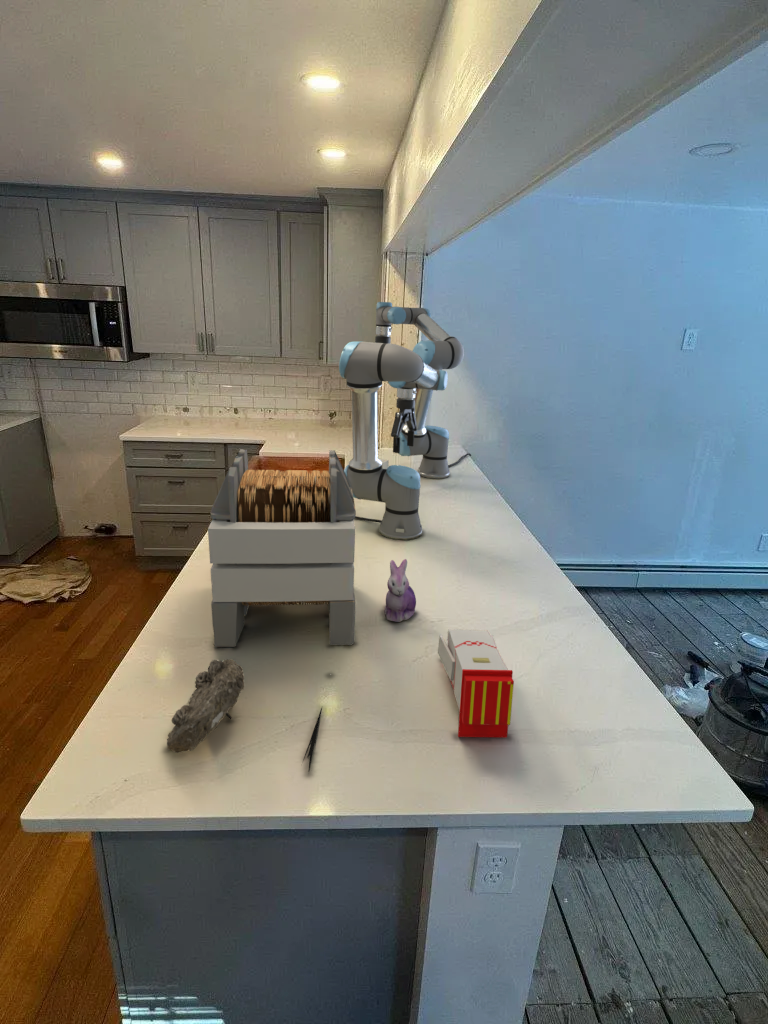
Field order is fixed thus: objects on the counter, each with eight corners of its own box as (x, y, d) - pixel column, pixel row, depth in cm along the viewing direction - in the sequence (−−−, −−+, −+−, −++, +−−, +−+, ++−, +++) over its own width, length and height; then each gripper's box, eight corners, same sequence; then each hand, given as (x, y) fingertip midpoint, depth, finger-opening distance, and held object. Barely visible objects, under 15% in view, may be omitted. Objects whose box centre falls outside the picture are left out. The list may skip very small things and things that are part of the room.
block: (363, 485, 253) (364, 459, 249) (369, 481, 258) (370, 457, 254) (381, 488, 249) (382, 462, 245) (387, 485, 254) (388, 460, 250)
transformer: (232, 581, 160) (225, 440, 147) (348, 580, 164) (351, 442, 150) (211, 649, 129) (199, 477, 115) (355, 646, 132) (360, 479, 119)
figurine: (392, 627, 141) (395, 572, 136) (374, 608, 149) (376, 556, 144) (425, 619, 145) (429, 566, 140) (405, 601, 154) (408, 550, 149)
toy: (488, 613, 130) (523, 677, 101) (484, 667, 133) (517, 744, 104) (435, 612, 130) (455, 676, 101) (432, 666, 133) (451, 743, 103)
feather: (331, 679, 122) (336, 673, 122) (307, 777, 96) (313, 769, 95) (324, 675, 122) (329, 669, 121) (298, 772, 95) (304, 764, 95)
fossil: (192, 660, 117) (244, 628, 112) (224, 691, 120) (276, 661, 115) (142, 746, 98) (202, 712, 93) (182, 779, 101) (242, 748, 96)
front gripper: (400, 403, 218) (398, 457, 226) (426, 395, 239) (423, 444, 247) (383, 401, 221) (381, 454, 229) (410, 393, 242) (408, 442, 250)
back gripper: (378, 336, 263) (376, 383, 270) (400, 335, 284) (398, 378, 291) (364, 335, 266) (363, 381, 273) (387, 334, 287) (385, 377, 294)
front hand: (403, 449), depth 238 cm, fingers open, 13 cm apart
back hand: (381, 380), depth 282 cm, fingers open, 13 cm apart
